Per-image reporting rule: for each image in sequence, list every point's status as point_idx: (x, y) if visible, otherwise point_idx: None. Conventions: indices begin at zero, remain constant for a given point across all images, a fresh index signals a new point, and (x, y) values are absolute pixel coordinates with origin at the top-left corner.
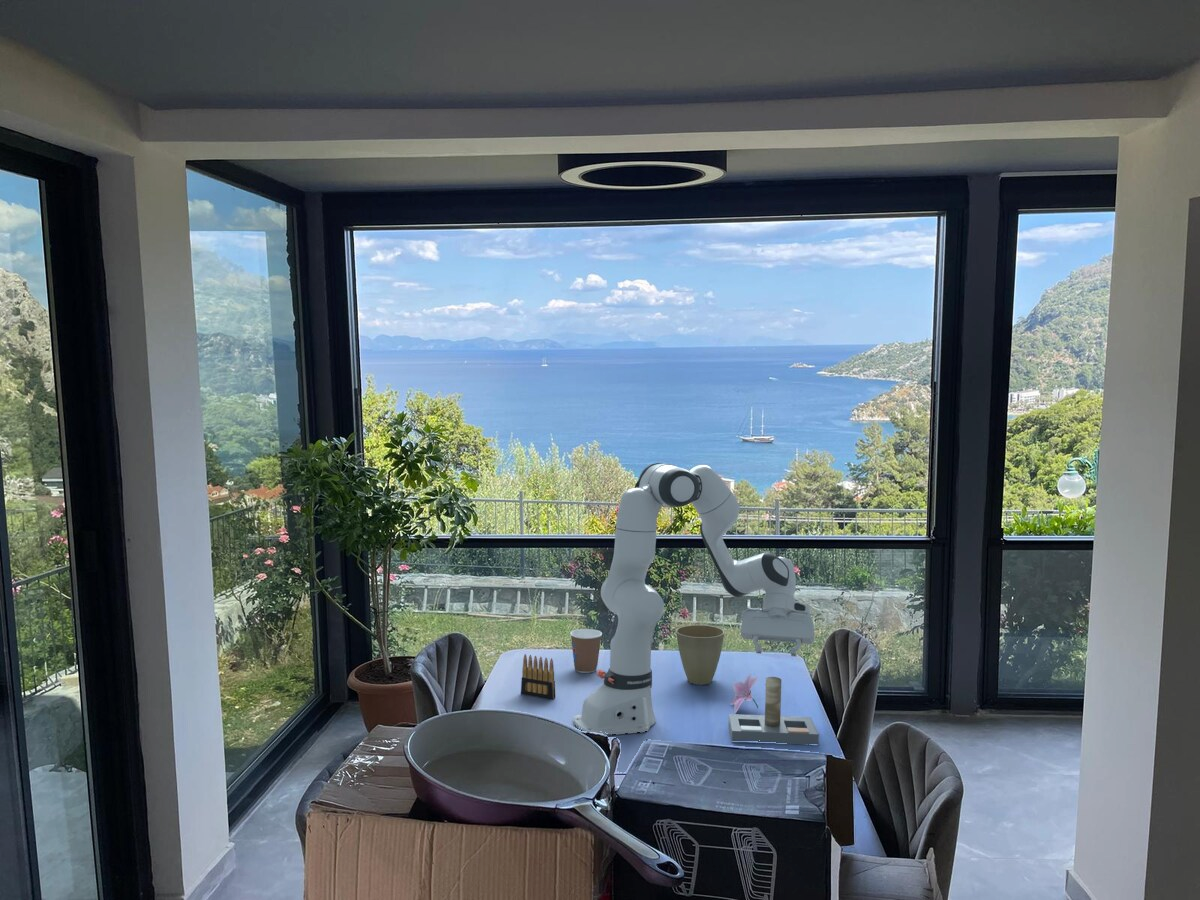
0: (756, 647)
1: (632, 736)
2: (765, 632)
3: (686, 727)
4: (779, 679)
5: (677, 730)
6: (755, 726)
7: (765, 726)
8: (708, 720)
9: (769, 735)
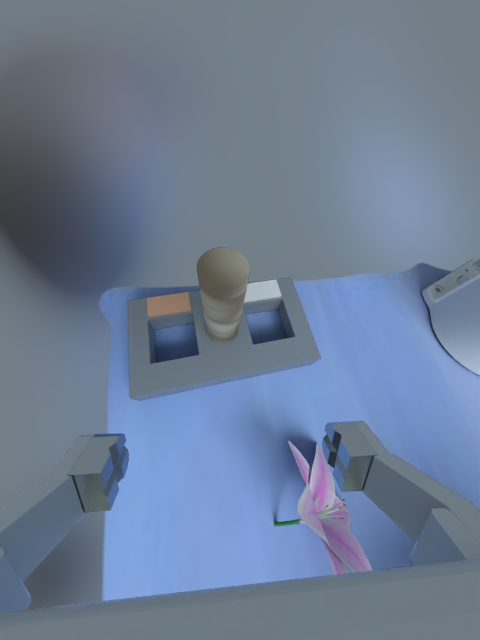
0: (373, 434)
1: (429, 274)
2: (427, 610)
3: (376, 329)
4: (203, 270)
5: (384, 312)
6: (253, 298)
7: None
8: (355, 377)
9: None
